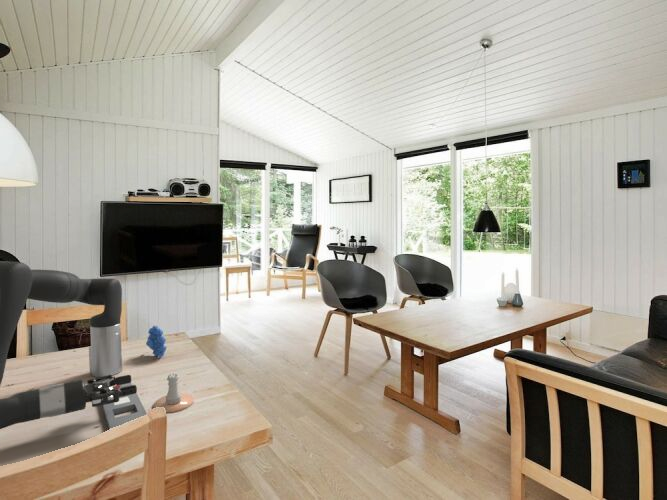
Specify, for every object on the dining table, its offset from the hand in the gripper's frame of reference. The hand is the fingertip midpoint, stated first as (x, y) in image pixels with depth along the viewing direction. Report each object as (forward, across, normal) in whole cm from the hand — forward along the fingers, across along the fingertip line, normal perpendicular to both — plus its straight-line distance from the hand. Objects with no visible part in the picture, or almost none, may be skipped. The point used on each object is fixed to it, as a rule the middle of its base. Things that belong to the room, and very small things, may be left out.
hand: (133, 383), depth 110 cm
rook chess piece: (+10, 0, +8) cm, 13 cm away
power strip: (-2, +6, +9) cm, 11 cm away
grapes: (+15, +46, +9) cm, 49 cm away
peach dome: (+10, 0, +9) cm, 14 cm away
